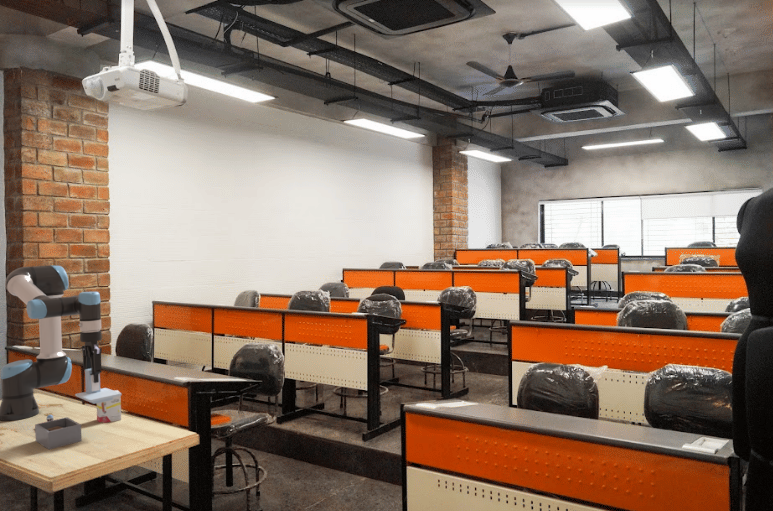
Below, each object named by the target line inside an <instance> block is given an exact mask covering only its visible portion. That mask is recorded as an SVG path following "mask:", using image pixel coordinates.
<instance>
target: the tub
mask: <svg viewBox="0 0 773 511" xmlns="http://www.w3.org/2000/svg"><path fill="white" fill-rule="evenodd" d="M34 426H35V427H34V429H35V430H34V431H35V435H34V436H35V442H36V443H37V444H40V445H41V446H42V447H44V448H46V449H47V450H52V449H56V448H61V447H64V446H68V445H71V444H77V443H81V442H82V441H83V440H82V438H83V437H82V424H81V423H79V422H77V421H76V420H74V419H71V418H70V417H68V416H67V417H61V418H59V419H58V418H57V419H54V420H53V421H48V422H47V421H44V423H43V422H40V423H36V424H34ZM57 426H59V427H62V428H61V429H57V430H53V431H49V430H47V429H50V428H53V427H57Z"/></svg>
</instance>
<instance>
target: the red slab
mask: <svg viewBox="0 0 773 511" xmlns="http://www.w3.org/2000/svg"><path fill="white" fill-rule="evenodd" d="M53 420H55V419H54V416H53V414H48V415H47V416H46V422H48V421H53ZM44 422H45V421H44ZM44 422H42V423H44Z"/></svg>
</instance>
